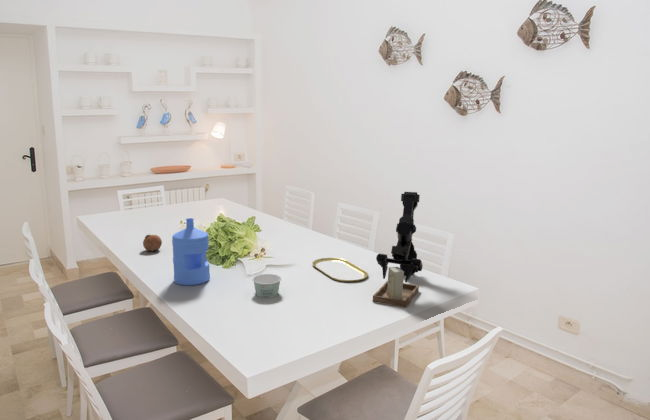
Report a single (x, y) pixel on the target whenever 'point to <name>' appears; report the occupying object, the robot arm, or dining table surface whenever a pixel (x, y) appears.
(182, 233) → the water jug
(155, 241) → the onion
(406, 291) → the walnut tray
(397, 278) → the skincare box
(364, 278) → the gold hoop ring
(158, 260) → the dining table surface
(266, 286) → the food container
